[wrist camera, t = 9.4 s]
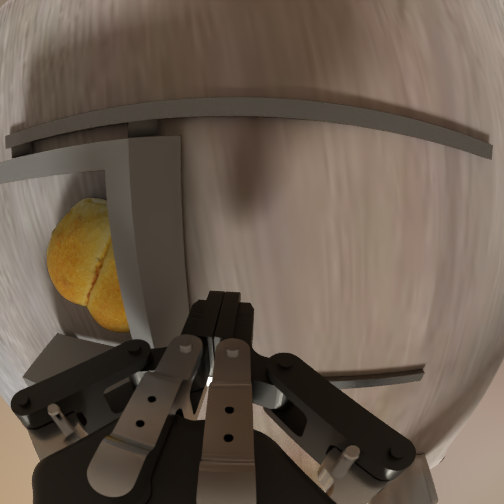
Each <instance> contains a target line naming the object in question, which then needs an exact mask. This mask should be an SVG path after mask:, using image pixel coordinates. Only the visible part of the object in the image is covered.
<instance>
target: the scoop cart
mask: <svg viewBox="0 0 504 504" xmlns="http://www.w3.org/2000/svg"><path fill="white" fill-rule="evenodd" d="M152 135H158V120H142V121H133V122H128V137H138V138H126V139H117V140H109V141H101V142H94V143H88V144H81V145H75V146H70V147H64V148H59V149H54V150H49V151H44V152H40V153H35V154H32V148H31V143H25V144H21V145H17V146H13V147H11V149H12V158H15V159H11V160H7V161H4V162H0V184H3V183H8V182H14V181H19V180H25V179H32V178H38V177H45V176H52V175H60V174H68V173H77V172H87V171H97V170H105V185H106V197H107V207H108V216H109V225H110V232H111V239H112V246H113V252H114V259H115V264H116V270H117V275H118V281H119V286H120V290H121V295H122V300H123V304H124V309H125V313H126V317H127V321H128V325H129V329H130V333H131V337H132V340H133V339H141V340H144V341H146V342H148V343H149V344H150V347H151V349H152V348H162V347H167V346H168V345H169V344H170V342H171V340H172V339H174V338H175V337H177V336H180V335H181V332H182V330H183V327H184V325H185V322H186V320H187V318H188V315H189V304H188V293H187V282H186V269H185V255H184V239H183V220H182V194H181V135H180V136H154V137H140V136H152ZM29 154H31V155H29ZM25 155H27V156H25ZM20 156H23V157H20ZM16 157H19V158H16ZM112 348H114V346H109V345H104V344H99V343H95V342H91V341H86V340H82V339H78V338H74V337H70V336H66V335H62V334H59V333H57V334H56V336H55V337H54V338H53V339H52V340H51V342H50V343H49V344H48V345H47V346H46V348H45V349H44V350H43V351H42V353H41V354H40V355H39V356H38V358H37V359H36V360H35V361H34V363H33V364H32V365H31V367H30V368H29V369H28V370H27V372H26V373H25V374H24V376H23V379H24V380H25V382H26V384H27V385H28V386H29V387H30V386H32V385H34V384H36V383H39V382H41V381H43V380H45V379H47V378H50V377H52V376H54V375H56V374H59V373H61V372H63V371H65V370H67V369H69V368H72V367H74V366H76V365H78V364H80V363H82V362H85V361H87V360H89V359H91V358H93V357H95V356H97V355H99V354H102V353H104V352H106V351H108V350H110V349H112ZM127 382H129V378H128V377H127V378H125V379H123V380H122V381H120V382H118V383H116V384H114V385H112V386H110V387H108V388H107V389H106V390H105V391H104V394H105V393H108V392H110V391H111V390H113V389H115V388H117V387H119V386H121V385H123V384H125V383H127Z"/></svg>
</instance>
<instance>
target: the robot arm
mask: <svg viewBox="0 0 504 504" xmlns="http://www.w3.org/2000/svg"><path fill="white" fill-rule="evenodd" d="M240 301H241V294H240V292H224V291H210V292H209V294H208V297H207V300H198V301H197V302H196V303H194V304H193V305H192V308H191V310H190V313H189V315H188V318H187V320H186V322H185V325H184V327H183V330H182V332H181V335H180V336H177V337H175V338H174V339H172V340H171V342H170V344H169V345H168V346H167V347H162V348H152V349H151V347H150V344H149V343H148V342H146V341H144V340H141V339H133V340H129V341H127V342H125V343H123V344H120V345H118V346H116V347H114V348H112V349H110V350H108V351H106V352H104V353H102V354H99V355H97V356H95V357H93V358H91V359H89V360H87V361H85V362H82V363H80V364H78V365H76V366H74V367H72V368H69V369H67V370H65V371H63V372H61V373H59V374H56V375H54V376H52V377H50V378H47V379H45V380H43V381H41V382H39V383H36V384H34V385H32V386H30V387H27V388H25V389H23V390H20V391H19V392H17V393H16V394H15V395H14V396H13V398H12V400H11V409H12V411H13V412H14V413H15V415H16V416H17V417H18V418H19V419H20V420H21V422H22V424H23V425H24V426H25V428H26V429H27V430H28V432H29V435H30V438H31V440H32V443H33V445H34V448H35V450H36V452H37V455H38V457H39V459H40V462H39V463H38V464H37V466H36V467H35V469H34V472H33V476H32V487H33V504H367V503H368V504H436V503H437V502H438V497H437V493H436V490H435V486H434V483H433V479H432V476H431V473H430V469H429V466H428V463H427V460H426V457H425V454H422V455H417V454H416V450H415V447H414V445H413V443H412V442H411V441H410V440H408V439H407V438H405V437H404V436H403V435H401V434H400V433H398V432H397V431H395V430H394V429H392V428H391V427H390V426H388V425H387V424H385V423H384V422H383V421H381V420H380V419H378V418H377V417H376V416H374V415H373V414H371V413H370V412H369V411H367V410H366V409H365V408H363V407H362V406H361V405H359V404H358V403H357V402H355V401H354V400H353V399H351V398H350V397H349V396H347V395H346V394H345V393H343V392H342V391H341V390H339V389H338V388H337V387H335V386H334V385H333V384H332V383H330V382H329V381H328V380H326V379H325V378H324V377H323V376H321V375H320V374H319V373H317V372H316V371H315V370H314V369H312V368H311V367H310V366H309V365H307V364H306V363H305V362H304V361H302V360H301V359H300V358H299V357H297V356H295V355H293V354H290V353H278V354H275V355H273V356H271V357H270V358H267V357H264V356H261V355H259V354H258V353H256V352H255V351H254V350H253V348H252V340H253V322H254V308H253V307H252V305H251V303H243V302H240ZM209 375H211V376H212V382H210V384H209V391H208V400H207V409H206V418H205V420H197V418H198V415H199V412H200V409H201V406H202V403H203V400H204V397H205V394H206V391H207V382H208V377H209ZM127 377H128V378H129V382H127V383H125V384H123V385H121V386H119V387H117V388H115V389H113V390H111V391H110V392H108V393H105V394H104V391H105V390H106V389H107V388H108V387H110V386H112V385H114V384H116V383H118V382H120V381H122V380H123V379H125V378H127ZM252 403H254V404H257V405H260V406H263V408H264V411H265V412H266V413H267V414H268V415H269V416H270V417H271V418H272V419H273V420H274V421H275V422H276V423H277V424H278V425H279V426H280V427H281V428H282V429H283V430H284V431H285V432H286V433H287V434H288V435H289V436H290V437H291V438H292V439H293V440H294V441H295V442H296V443H297V444H298V445H299V446H300V447H301V448H302V449H303V450H305V451H306V452H307V453H308V454H309V455H310V456H311V457H312V458H313V459H314V460H316V461H317V462H318V463H319V464H320V467H319V469H318V479H319V481H320V482H321V483H322V485H323V486H324V488H325V490H326V493H325V492H324V491H323V490H322V489H321V488H320V487H319V486H318V485H317V484H316V483H314V482H313V481H312V480H311V479H310V478H309V477H308V476H307V475H306V474H305V473H304V472H303V471H302V470H301V469H300V468H299V467H298V466H297V464H296V463H295V462H294V461H293V460H292V459H291V458H290V457H289V456H288V455H287V454H286V453H285V452H284V451H283V450H282V449H281V448H280V446H279V445H278V444H277V443H276V442H275V441H274V440H272V439H271V438H270V437H268V436H267V435H265V434H263V433H261V432H259V431H257V430H254V429H253V404H252Z"/></svg>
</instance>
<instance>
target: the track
mask: <svg viewBox="0 0 504 504" xmlns="http://www.w3.org/2000/svg"><path fill="white" fill-rule="evenodd" d="M214 116H245V117H274V118H290V119H302V120H313V121H323V122H331V123H339V124H346V125H353V126H360V127H366V128H372V129H377V130H383V131H388V132H393V133H398V134H402V135H407V136H411V137H416V138H420V139H424V140H428V141H432V142H435V143H439V144H443V145H446V146H450V147H453V148H457V149H460V150H463V151H466V152H469V153H472V154H475V155H478V156H481V157H484V158H487V159H491V160H492V148H493V145H491V144H489V143H486V142H483V141H481V140H478V139H476V138H473V137H470V136H467V135H465V134H462V133H459V132H456V131H453V130H450V129H446V128H443V127H440V126H437V125H433V124H430V123H426V122H423V121H419V120H415V119H411V118H407V117H403V116H399V115H394V114H390V113H385V112H380V111H375V110H370V109H365V108H359V107H353V106H347V105H340V104H333V103H325V102H316V101H306V100H295V99H281V98H260V97H211V98H190V99H176V100H164V101H155V102H146V103H138V104H131V105H125V106H118V107H113V108H107V109H102V110H96V111H92V112H87V113H82V114H78V115H74V116H69V117H65V118H62V119H58V120H54V121H50V122H47V123H43V124H40V125H37V126H34V127H30V128H27V129H24V130H21V131H18V132H15V133H13V134H10V135H7V136H5V143H6V149H7V148H11V147H13V146H17V145H21V144H25V143H28V142H32V141H36V140H39V139H43V138H47V137H51V136H56V135H60V134H65V133H69V132H74V131H79V130H84V129H90V128H95V127H101V126H108V125H114V124H122V123H128V122H133V121H142V120H157V119H170V118H186V117H214ZM423 375H424V371H423V369H420V370H413V371H405V372H397V373H387V374H376V375H363V376H346V377H324V378H325V379H326V380H328V381H329V382H330V383H332V384H333V385H334V386H335V387H337V388H338V389H348V388H362V387H374V386H383V385H392V384H400V383H407V382H414V381H420V380H421V379H422V377H423ZM210 382H212V376H211V375H209V377H208V382H207V385H209V384H210Z"/></svg>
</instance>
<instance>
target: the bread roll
mask: <svg viewBox="0 0 504 504" xmlns="http://www.w3.org/2000/svg"><path fill="white" fill-rule="evenodd" d="M46 253H47V254H46V255H47V266H48V271H49V275H50V277H51V279H52V282H53V284H54V286H55V287H56V289H57V290H58V291H59V293H60V294H61V295H62V296H63V297H64V298H65V299H67V300H69V301H71V302H73V303H75V304H79V305H82V306H86V307H87V309H88V310H89V312H90V314H91V315H92V317H93V318H94V319H95V321H96V322H97V323H98V324H99V325H101V326H102V327H104V328H105V329H107V330H110V331H114V332H118V333H128V332H130V329H129V325H128V321H127V317H126V313H125V309H124V304H123V300H122V295H121V290H120V286H119V281H118V275H117V270H116V264H115V259H114V252H113V246H112V239H111V232H110V225H109V216H108V207H107V200H104V199H100V198H85V199H83V200H81V201H80V202H78V203H77V204H76V205H74V206H73V207H72V208H71V211H70V212H69V213H67V214H66V215H65V216H64V217H63V218H62V220H61V221H60V222H59V223H58V224H57V226H56V228H55V229H54V230H53V231H52V235H51V239H50V241H49V244H48V248H47V251H46Z"/></svg>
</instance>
